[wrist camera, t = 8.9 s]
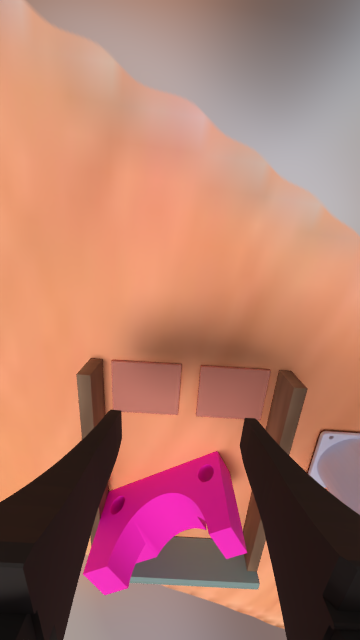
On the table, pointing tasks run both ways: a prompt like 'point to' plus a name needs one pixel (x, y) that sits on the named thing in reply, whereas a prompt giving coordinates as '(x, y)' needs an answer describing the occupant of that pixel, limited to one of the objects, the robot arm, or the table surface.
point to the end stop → (195, 566)
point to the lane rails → (278, 426)
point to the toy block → (163, 519)
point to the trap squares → (164, 385)
